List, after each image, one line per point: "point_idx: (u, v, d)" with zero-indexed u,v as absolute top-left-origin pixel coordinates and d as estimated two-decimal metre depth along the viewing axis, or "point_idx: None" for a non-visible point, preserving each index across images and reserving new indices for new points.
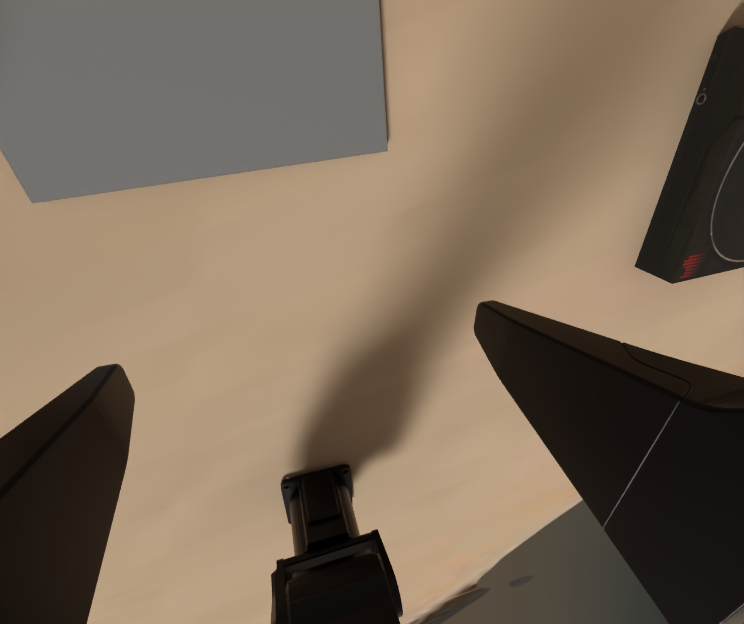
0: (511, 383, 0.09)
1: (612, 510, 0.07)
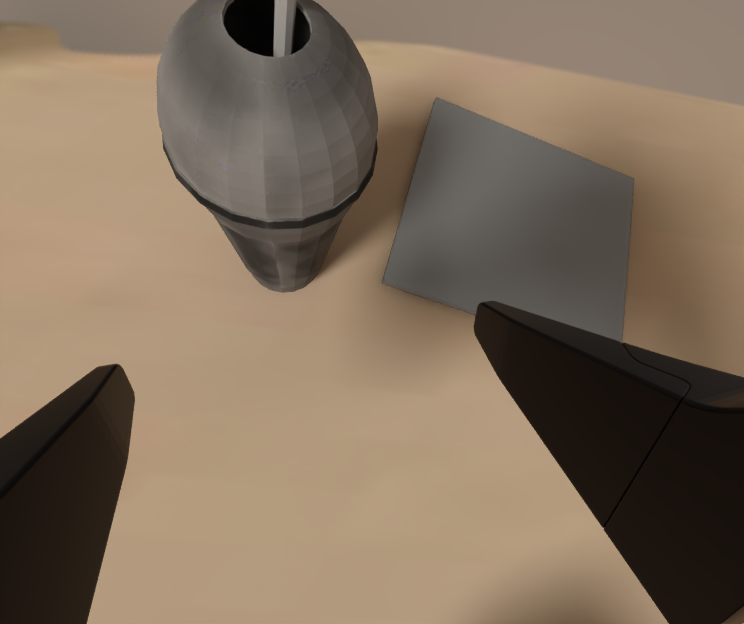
0: (511, 383, 0.09)
1: (612, 510, 0.07)
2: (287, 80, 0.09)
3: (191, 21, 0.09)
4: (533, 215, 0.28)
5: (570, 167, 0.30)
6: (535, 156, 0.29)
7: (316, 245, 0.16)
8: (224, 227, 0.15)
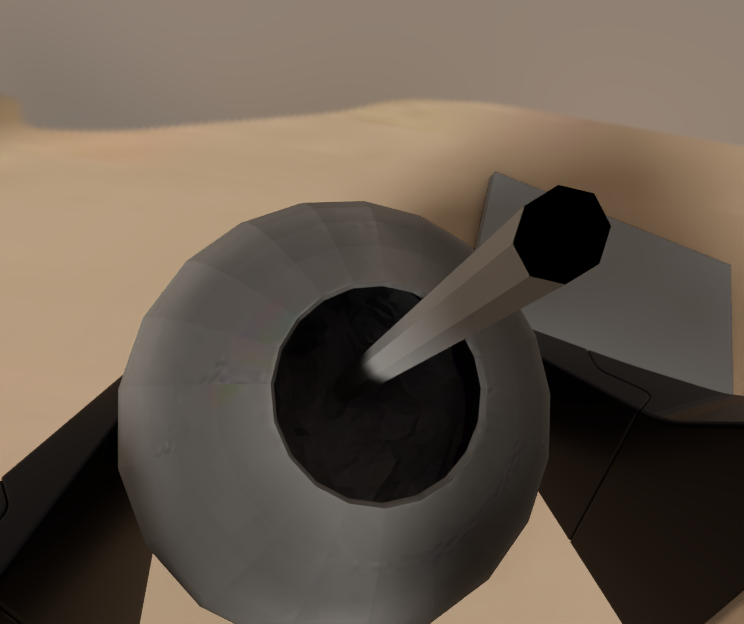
0: None
1: (578, 523, 0.07)
2: (435, 539, 0.04)
3: (190, 374, 0.04)
4: (618, 322, 0.22)
5: (657, 255, 0.24)
6: (615, 243, 0.24)
7: None
8: None
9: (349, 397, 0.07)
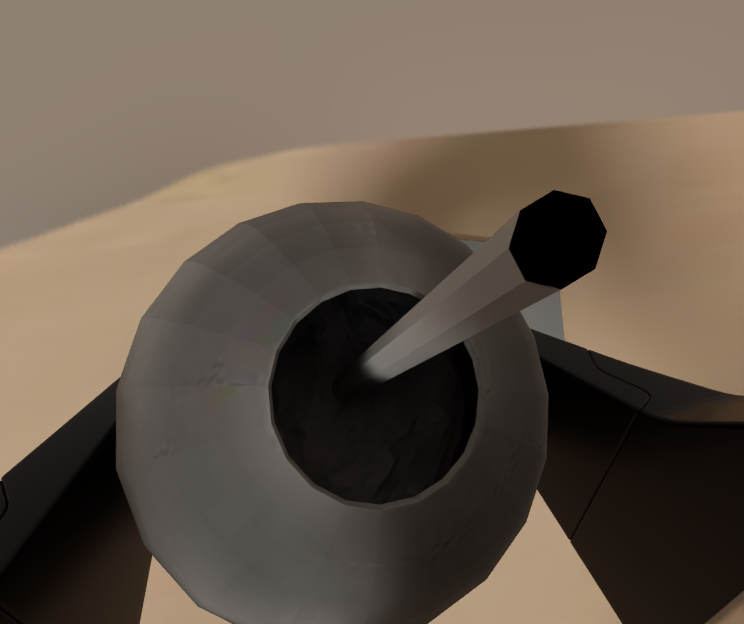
0: None
1: (578, 523, 0.07)
2: (433, 540, 0.04)
3: (187, 376, 0.04)
4: None
5: None
6: None
7: None
8: None
9: (348, 397, 0.07)
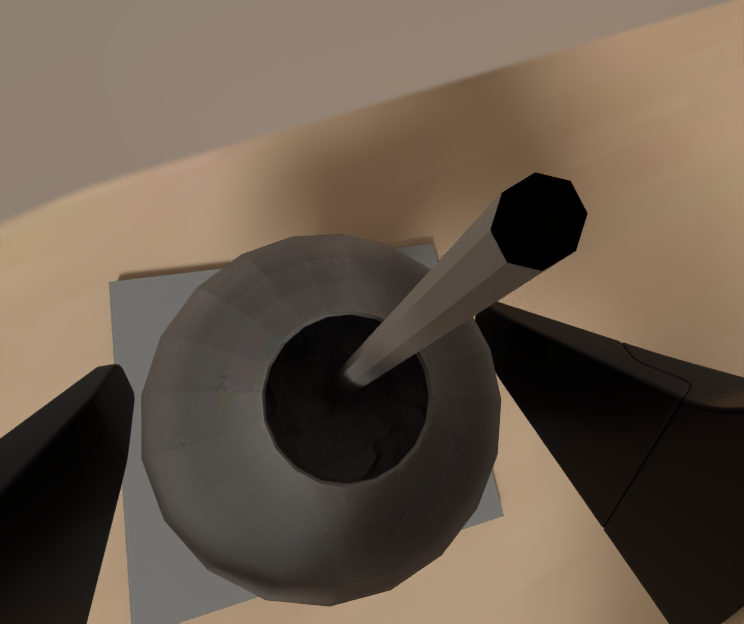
0: (511, 383, 0.09)
1: (613, 510, 0.07)
2: (390, 512, 0.05)
3: (200, 384, 0.05)
4: None
5: None
6: None
7: None
8: None
9: (335, 400, 0.08)
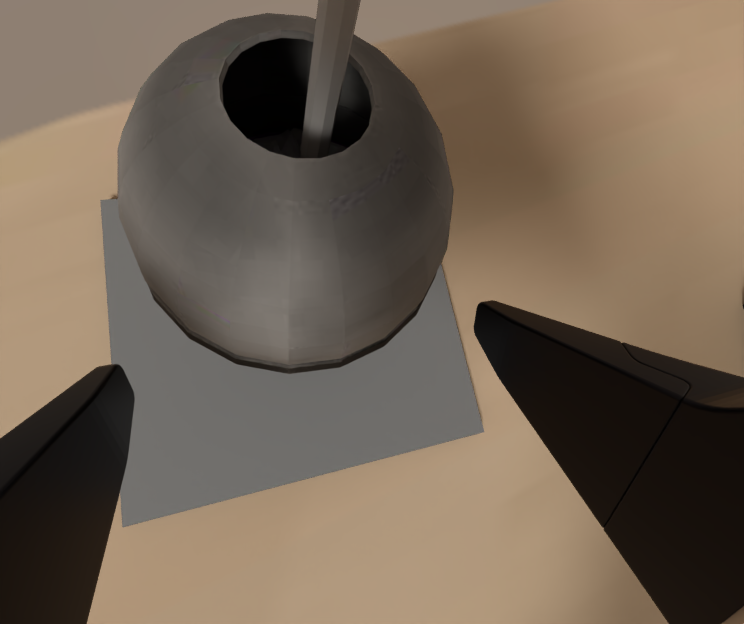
0: (511, 383, 0.09)
1: (613, 510, 0.07)
2: (334, 196, 0.05)
3: (166, 89, 0.05)
4: None
5: None
6: None
7: None
8: None
9: None
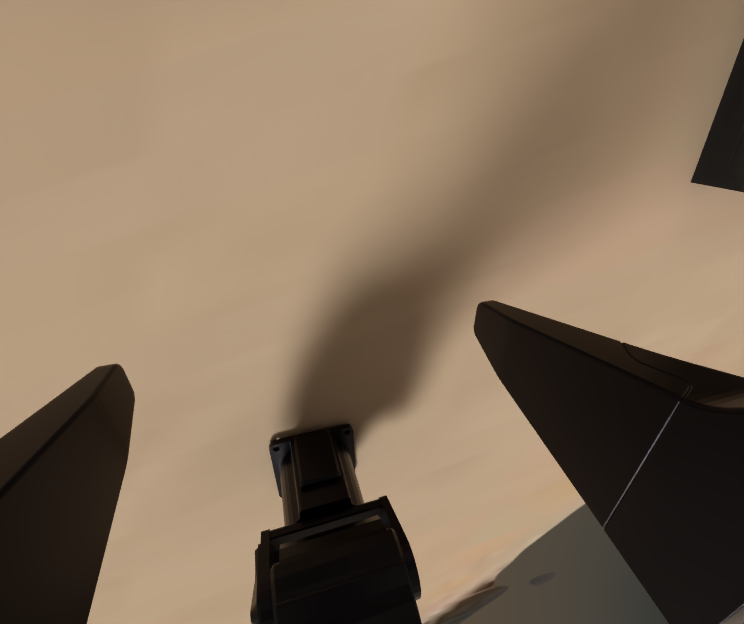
0: (511, 383, 0.09)
1: (613, 511, 0.07)
2: None
3: None
4: None
5: None
6: None
7: None
8: None
9: None
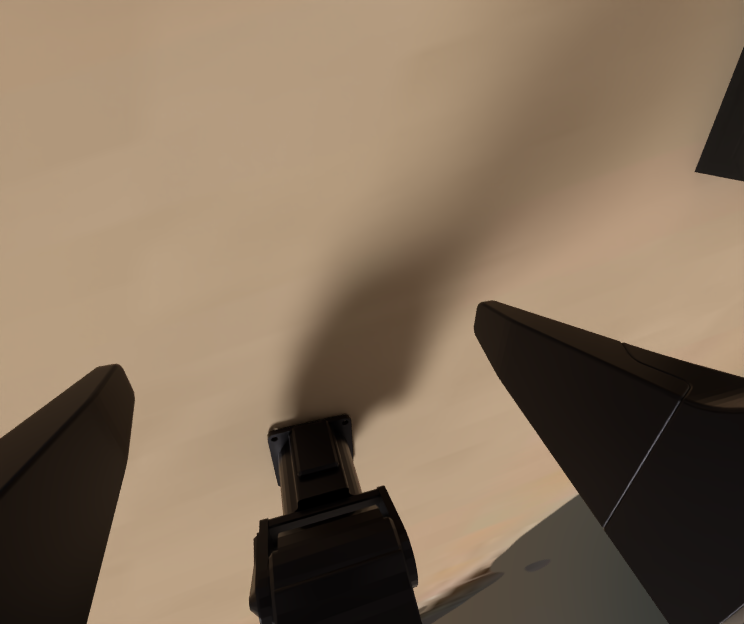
0: (511, 383, 0.09)
1: (612, 510, 0.07)
2: None
3: None
4: None
5: None
6: None
7: None
8: None
9: None
